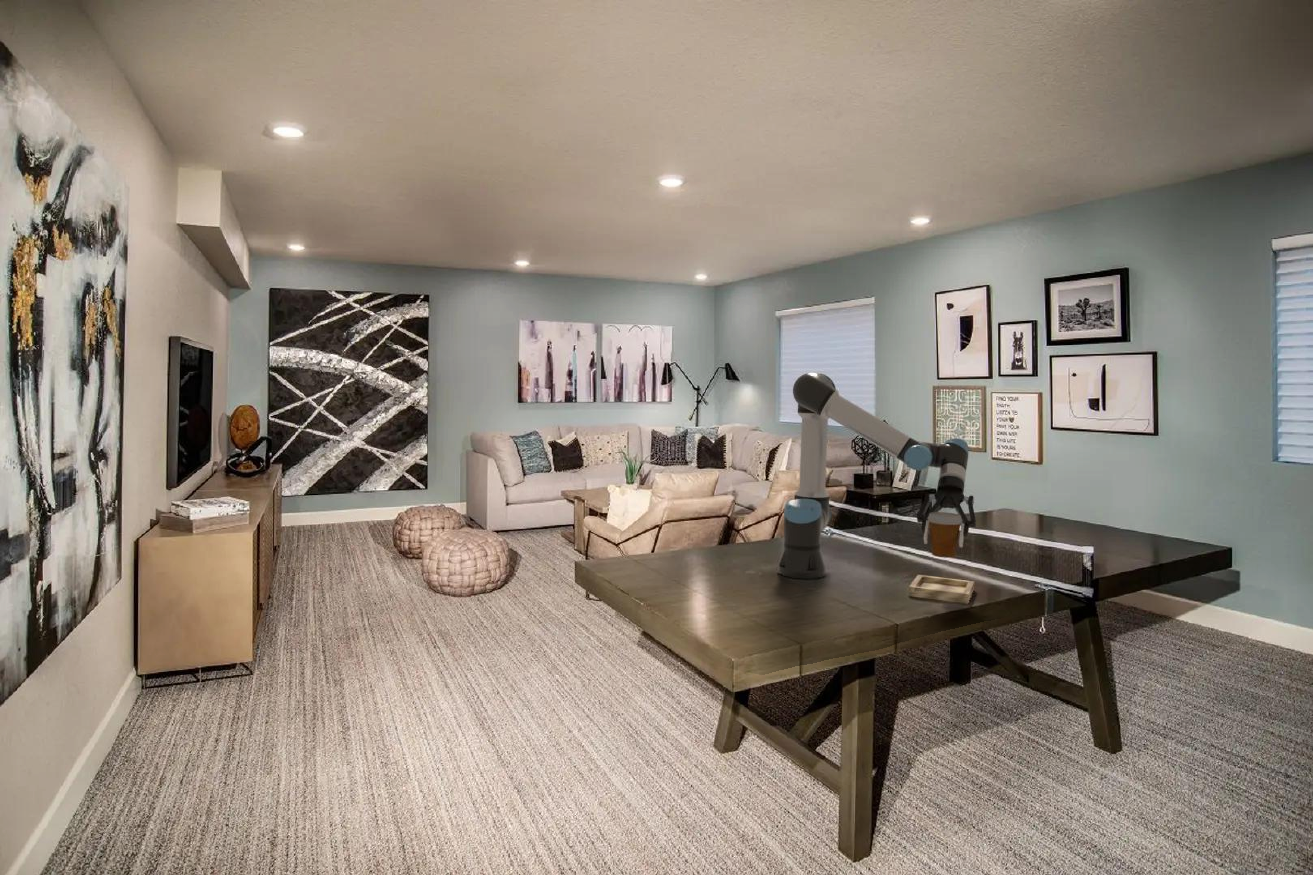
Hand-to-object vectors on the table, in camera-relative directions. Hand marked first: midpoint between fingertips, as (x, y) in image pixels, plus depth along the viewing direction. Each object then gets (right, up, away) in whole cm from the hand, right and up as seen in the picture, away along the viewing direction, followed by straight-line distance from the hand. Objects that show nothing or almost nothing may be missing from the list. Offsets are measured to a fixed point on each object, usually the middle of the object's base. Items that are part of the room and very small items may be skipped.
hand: (942, 542), depth 214 cm
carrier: (+1, -15, +4) cm, 16 cm away
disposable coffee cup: (+1, -4, +3) cm, 5 cm away
